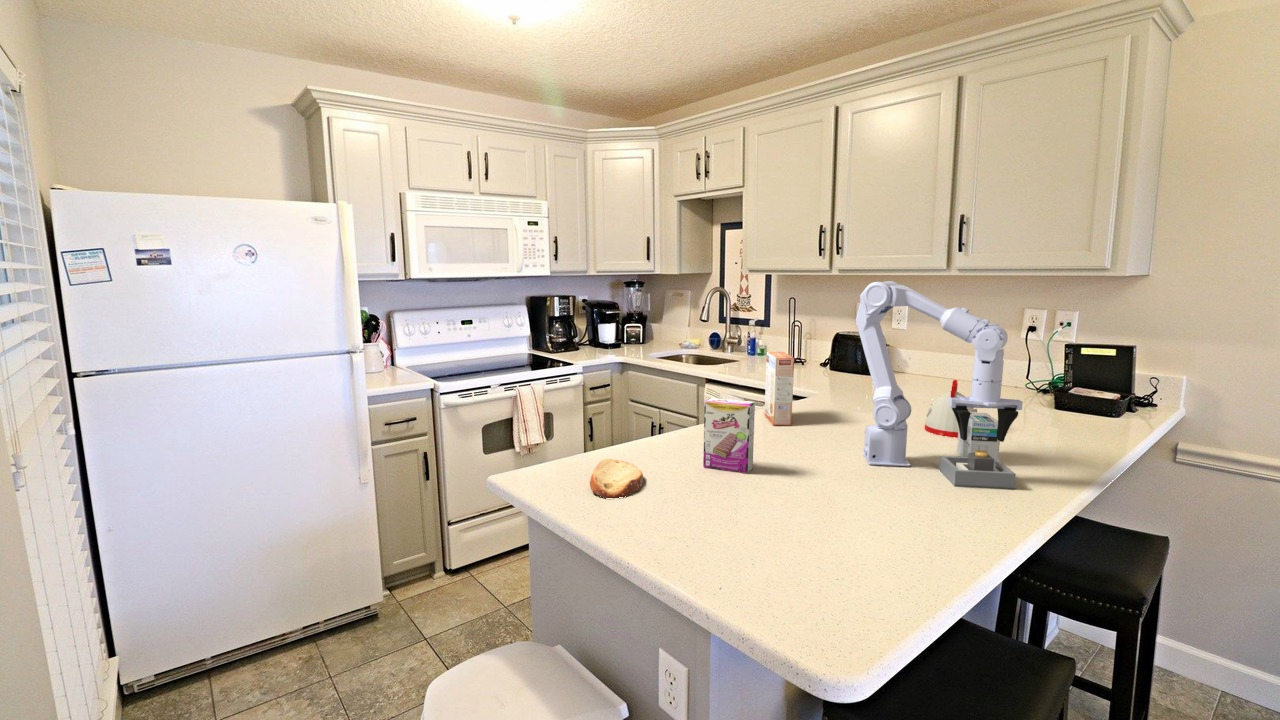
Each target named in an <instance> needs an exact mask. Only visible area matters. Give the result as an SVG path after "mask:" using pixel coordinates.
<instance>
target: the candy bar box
mask: <svg viewBox="0 0 1280 720" xmlns="http://www.w3.org/2000/svg"><path fill="white" fill-rule="evenodd" d="M755 412H756V402H755V401H748V400H737V399H730V398H729V399H726V398H722V397H721V398H719V397H718V398H717V397H710V398H708V399H706V400H705V401H704V414H703V415H704V417H703V419H704V421H703V458H702V459H703V463H702V465H703V466H702V467H703V468H709V469H715V470H723V471H729V472H736V473H741V474H749V473H750V471H752V469H753V468H754V446H755V445H754V440H755V414H756V413H755ZM748 472H749V473H748Z"/></svg>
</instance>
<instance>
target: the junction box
mask: <svg viewBox="0 0 1280 720" xmlns="http://www.w3.org/2000/svg"><path fill="white" fill-rule="evenodd" d="M993 459H994V469H993V471H976V470H968V469H967V464H968V457H962V456H958V455H957V456H956V455H954V456H952V455H939V463H938V471H939V470H940V471H939V472H940V473H941V474H942V475H943V476H944V477H945V479H947V480H948V481H949V482H950V483H951V484H952V486H953V487H960V488H961V487H962V488H978V489H995V490H996V489H997V490H999V489H1002V490H1015V485H1016V473H1015V472H1014V471H1013V470H1011V469H1010V468H1008V467H1007V465H1005V464H1003V462H1001V461H1000V460H997V459H996V458H993Z"/></svg>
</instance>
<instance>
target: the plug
mask: <svg viewBox="0 0 1280 720" xmlns="http://www.w3.org/2000/svg"><path fill="white" fill-rule="evenodd" d="M967 469H968V470H976V471H993V469H994V459H993V458H992V457H991V456H990V455H988V452H986V451H983V450H976V451H975V453H968V464H967Z"/></svg>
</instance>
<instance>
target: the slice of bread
mask: <svg viewBox="0 0 1280 720" xmlns="http://www.w3.org/2000/svg"><path fill="white" fill-rule="evenodd" d="M642 483H644V475H643V471H642V470H641V469H638V467H637V466H636V465H634V464H632V463H629V462H627V461H623V460H619V459H612V458H604V459H603V460H601V461H599V463H597V465H596V466H595V468H594V469H593V472H592V474H591V476H590V480H589V487H590V490H591V491H592V492H593V493H594V494H596V496H598V497H600V496H601V497H600V498H602V497H604V498H603V499H605V498H619V497H625V496H626V497H627V496H630V495H632V494H634V493H633V492H635V493H637V492H638V491H639V490H641V488H642V486H643V484H642ZM637 490H638V491H637ZM631 493H632V494H631ZM626 497H625V498H626ZM619 499H620V498H619Z"/></svg>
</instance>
